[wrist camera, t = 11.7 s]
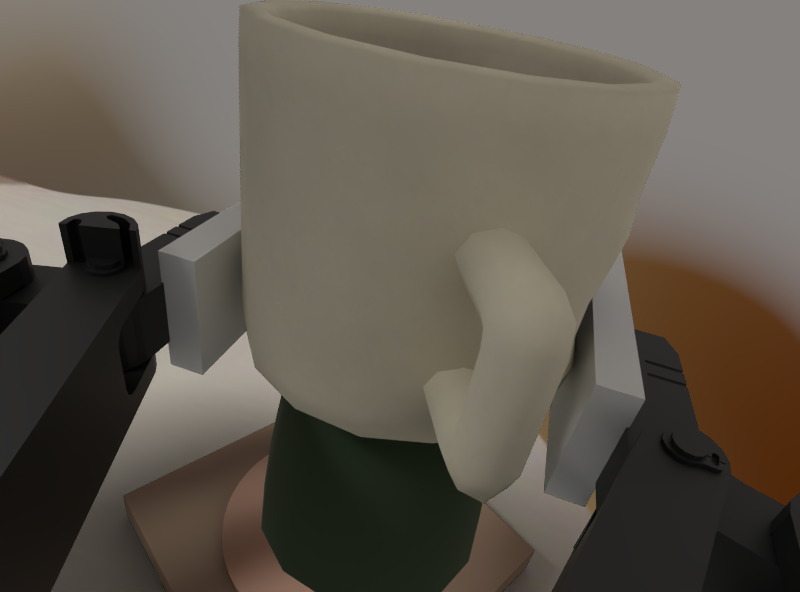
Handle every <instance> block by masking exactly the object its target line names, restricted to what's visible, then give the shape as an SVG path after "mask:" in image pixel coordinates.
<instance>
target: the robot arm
mask: <svg viewBox="0 0 800 592" xmlns="http://www.w3.org/2000/svg"><path fill="white" fill-rule="evenodd" d="M59 228H60V232H61V237H62V241H63V245H64V250H65V254H66V259H67V264H66V265H65V266H64V267H63V268H60V267H50V266H40V265H32V262H31V259H30V255H29V251H28V249H27V247H26V246H25V245H24V244H23V243H20V242H18V241H15V240H10V239H1V238H0V592H51V590H52V588H53V586H54V584H55V581H56V579H57V577H58V575H59V573H60V571H61V569H62V567H63V565H64V563H65V561H66V558H67V556H68V554H69V552H70V550H71V548H72V546H73V544H74V542H75V540H76V537H77V535H78V533H79V531H80V529H81V527H82V525H83V523H84V521H85V519H86V517H87V514H88V512H89V510H90V508H91V506H92V504H93V502H94V500H95V498H96V496H97V494H98V491H99V489H100V487H101V485H102V483H103V481H104V479H105V477H106V475H107V473H108V470H109V468H110V466H111V464H112V462H113V460H114V458H115V456H116V454H117V452H118V450H119V447H120V445H121V443H122V441H123V439H124V437H125V435H126V433H127V431H128V429H129V427H130V424H131V422H132V420H133V418H134V416H135V414H136V412H137V410H138V408H139V406H140V403H141V401H142V399H143V397H144V395H145V393H146V391H147V389H148V387H149V385H150V383H151V380H152V378H153V376H154V374H155V372H156V366H157V363H156V355H155V353H157V352H158V351H159V350H160V349H161V348H162V347H164V346H165V345H166V344H167V343H169V351H170V360H171V364H172V365H175V366H178V367H181V368H184V369H187V370H190V371H193V372H196V373H198V374H201V375H203V374H204V373H205V372H206V371H207V370H208V369H209V368H210V367H211V366H212V365H213V364H214V363H215V362H216V361H217V360H218V359H219V358H220V357H221V356H222V355H223V354H224V353H225V352H226V351H227V350H228V349H229V348H230V347H231V346H232V345H233V344H234V343H235V342H236V341H237V340H238V339H239V338H240V337H241V336H242V335H243V334H244V333H245V332H246V327H245V320H244V313H243V306H242V251H241V200H240V201H239V202H237V203H235V204H234V205H232V206H230V207H229V208H227V209H225V210H224V211H222V212H220V213H219V212H215V211H212V212H208V213H205V214H201V215H197V216H193V217H192V218H190V219H188V220H186V221H185V222H183V223H181V224H180V225H179V227H174V228H173V229H171V230H169V231H167V234H162V235H161V236H159V237H157V238H155V239H154V240H152V241H150V242H148V243H147V244H145V245H143V246H142V247H141V244H140V236H139V229H138V224H137V223H136V221H135V220H134V219H133V218H131V217H129V216H127V215H125V214H120V213H115V212H89V213H81V214H78V215H75V216H71V217H68V218H66V219H65V220H63V221H61V222H60V223H59ZM682 372H683V370H682V366H681V362H680V359H679V355H678V354H677V352H676V351H675V350H674V349H673V348H672V346H671V345H670V344H669V343H668V341H667V340H666V339H665V338H664V337H659V336H656V335H653V334H649V333H646V332H642V331H639V330H635V329H634V326H633V319H632V313H631V308H630V301H629V295H628V288H627V282H626V276H625V270H624V264H623V257H622V251H621V252H620V254H619V255H618V257H617V259H616V261H615V263H614V265H613V266H612V268H611V270H610V271H609V273H608V274H607V276H606V278H605V279H604V281H603V282H602V284H601V285H600V287H599V289H598V290H597V292H596V293H595V295H594V296H593V298H592V299H591V301H590V303H589V304H588V306H587V309H586V311H585V314H584V316H583V318H582V321H581V323H580V326H579V328H578V331H577V335H576V347H575V357H574V365H573V367H572V369H571V370H570V372H569V374H568V376H567V378H566V379H565V380H564V382H563V383H562V384H561V386H560V387H559V389H558V390H557V391H556V393H555V396H554V398H553V400H552V403H551V405H550V415H549V428H548V442H547V456H546V470H545V483H544V493H546V494H549V495H552V496H555V497H558V498H560V499H563V500H566V501H569V502H572V503H575V504H578V505H581V506H584V507H585V506H586V504H587V502H588V500H589V499H590V497H591V495H592V493H593V492H594V490H595V488H596V510H595V512H594V513H593V515H592V516H591V518H590V520H589V522H588V523H587V525H586V527H585V528H584V530H583V532H582V534H581V535H580V537H579V539H578V540H577V542H576V544H575V546H574V547H573V548H574V550H573V552H572V554H571V556H570V558H569V560H568V561H567V563H566V565H565V567H564V569H563V571H562V573H561V575H560V577H559V579H558V581H557V582H556V584H555V586H554V588H553V590H552V592H800V494H798V495H797V496H795V497H794V498H793V499H792V500H791V501H790V502H789V503H788V504H787V505H786V506H784V505H783V504H781V503H779V502H777V501H775V500H773V499H772V498H770V497H768V496H766V495H764V494H762V493H761V492H759V491H757V490H755V489H753V488H751V487H749V486H748V485H746V484H744V483H743V482H741V481H740V480H738V479H736V478H735V477H733V476H732V475H731V470H730V462H729V461H728V459H727V457H726V455H725V454H724V452H723V450H722V449H721V448H720V447H719V446H718V445H717V444H716V443H715V442H714V441H713V440H712V439H711V438H710V437H708V436H707V435H705V434H704V433H702V432H701V431H699V428H698V425H697V421H696V418H695V414H694V410H693V407H692V403H691V399H690V395H689V392H688V388H687V387H686V381H685V377H684V374H682Z"/></svg>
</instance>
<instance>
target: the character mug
mask: <svg viewBox="0 0 800 592" xmlns="http://www.w3.org/2000/svg"><path fill="white" fill-rule="evenodd" d="M238 47H239V113H240V175H241V177H240V180H241V181H240V182H241V251H242V306H243V313H244V320H245V327H246V331H247V335H248V340H249V344H250V348H251V352H252V357H253V361H254V365H255V368H256V369H257V370H258V371H259V372H260V373H261V374H262V375H263V376H264V377H265V378H266V379H267V380H268V381H269V382H270V383H271V384H272V386H273V387H274V388H275V389H276V390H277V391H278V392H279V393H280V394H281V400H280V404H279V408H278V413H277V417H276V421H275V425H274V430H273V434H272V438H271V444H270V450H269V457H268V464H267V470H266V477H265V483H264V496H263V510H262V524H261V529H262V531H263V533H264V535H265V537H266V539H267V541H268V543H269V545H270V547H271V549H272V551H273V553H274V554H275V556H276V558H277V560H278V562H279V564H280V566H281V568H282V570H283V571H284V572H285V573H287V574H288V575H290V576H291V577H293V578H294V579H296V580H297V581H299V582H300V583H302V584H304V585H305V586H307V587H308V588H310V589H311V590H313V591H314V592H442V591H443V590H444V589H445V588H446V586H447V585H448V584H449V583H450V582H451V581H452V580H453V579H454V577H455V576H456V575H457V574H458V573H459V572H460V571H461V570H462V568H463V567H464V566H465V565H466V564H467V563H468V562H469V558H470V554H471V550H472V546H473V542H474V537H475V533H476V529H477V525H478V521H479V517H480V512H481V508H482V503H485V502H486V501H488V500H489V499H491V498H493V497H494V496H496V495H497V494H499V493H500V492H502V491H504V490H505V489H507V488H508V487H509V486H510V485H511V484H512V483H513V482H514V481H516V480H517V479H518V478H519V477H520V475H521V473H522V471H523V468H524V466H525V464H526V461H527V459H528V457H529V454H530V452H531V450H532V447H533V445H534V443H535V440H536V438H537V436H538V433H539V431H540V429H541V426H542V424H543V422H544V419H545V417H546V414H547V412H548V410H549V407H550V405H551V403H552V400H553V398H554V396H555V393H556V391H557V390H558V389H559V387H560V386H561V384H562V383H563V382H564V380H565V379H566V378H567V376H568V374H569V372H570V370H571V369H572V367H573V365H574V357H575V347H576V335H577V331H578V328H579V326H580V323H581V321H582V318H583V316H584V314H585V311H586V309H587V306H588V304H589V303H590V301H591V299H592V298H593V296H594V295H595V293H596V292H597V290H598V289H599V287H600V285H601V284H602V282H603V281H604V279H605V278H606V276H607V274H608V273H609V271H610V270H611V268H612V266H613V265H614V263H615V261H616V259H617V257H618V255H619V254H620V252H621V250H622V248H623V246H624V244H625V242H626V241H627V238H628V237H629V235H630V233H631V229H632V225H633V221H634V217H635V213H636V210H637V207H638V203H639V200H640V196H641V193H642V191H643V189H644V186H645V184H646V181H647V179H648V177H649V174H650V172H651V170H652V167H653V165H654V162H655V160H656V158H657V155H658V152H659V151H660V148H661V146H662V143H663V141H664V139H665V136H666V134H667V131H668V127H669V124H670V121H671V117H672V114H673V111H674V107H675V103H676V101H677V97H678V94H679V90H680V87H681V84H680V83H679V82H677V81H675V80H673V79H672V78H670V77H668V76H666V75H664V74H662V73H660V72H658V71H655V70H653V69H651V68H649V67H646V66H644V65H642V64H639V63H636V62H633V61H630V60H626V59H623V58H620V57H617V56H613V55H609V54H606V53H602V52H598V51H595V50H591V49H588V48H584V47H579V46H575V45H571V44H566V43H562V42H558V41H553V40H549V39H545V38H540V37H536V36H531V35H526V34H520V33H515V32H511V31H505V30H501V29H495V28H490V27H485V26H480V25H475V24H470V23H464V22H460V21H455V20H450V19H445V18H440V17H435V16H429V15H424V14H417V13H411V12H403V11H397V10H390V9H383V8H376V7H369V6H359V5H350V4H340V3H330V2H321V1H294V0H270V1H260V2H256V3H250V4H245V5H240V10H239V42H238Z"/></svg>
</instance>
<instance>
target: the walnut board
mask: <svg viewBox="0 0 800 592" xmlns="http://www.w3.org/2000/svg"><path fill="white" fill-rule="evenodd" d="M274 425H275V423H273V424H270V425H268V426H266V427H264V428H262V429H260V430H258V431H256V432H254V433H252V434H250V435H248V436H246V437H244V438H242V439H240V440H237V441H235V442H233V443H231V444H229V445H227V446H225V447H223V448H221V449H219V450H217V451H215V452H213V453H211V454H209V455H207V456H204V457H202V458H200V459H198V460H196V461H194V462H192V463H190V464H188V465H186V466H184V467H182V468H180V469H178V470H176V471H174V472H171V473H169V474H167V475H165V476H163V477H161V478H159V479H157V480H155V481H153V482H151V483H149V484H147V485H145V486H143V487H141V488H138V489H136V490H134V491H132V492H130V493H128V494H126V495H124V496H123V497H124V502H125V506H126V511H127V515H128V517H129V519H130V521H131V523H132V525H133V527H134V529H135V531H136V533H137V535H138V537H139V539H140V541H141V543H142V545H143V547H144V549H145V551H146V552H147V554H148V556H149V558H150V560H151V562H152V564H153V566H154V568H155V570H156V572H157V574H158V576H159V578H160V580H161V582H162V584H163V586H164V588H165V590H166V592H314V591H313V590H311V589H310V588H308V587H307V586H305V585H304V584H302V583H300V582H299V581H297V580H296V579H294V578H293V577H291V576H290V575H288V574H287V573H285V572H284V571H283V570H282V568H281V566H280V564H279V562H278V560H277V558H276V556H275V554H274V553H273V551H272V549H271V547H270V545H269V543H268V541H267V539H266V537H265V535H264V533H263V531H262V529H261V524H262V510H263V496H264V483H265V477H266V470H267V464H268V457H269V450H270V444H271V438H272V434H273V430H274ZM534 551H535V550H534V549H533V548H532V547H531V546H530V545H529V544H528V543H526V542H525V541H524V540H523V539H522V538H521V537H520V536H519V535H518V534H517V533H516V532H515V531H514V530H513V529H512V528H510V527H509V526H508V525H507V524H506V523H505V522H504V521H503V520H502V519H501V518H500V517H499V516H498V515H497V514H496V513H495V512H493V511H492V510H491V509H490V508H489V507H488V506H487V505H486V504H485V503H482V508H481V512H480V517H479V521H478V525H477V529H476V533H475V537H474V542H473V546H472V550H471V554H470V558H469V562H468V563H467V564H466V565H465V566H464V567H463V568H462V570H461V571H460V572H459V573H458V574H457V575H456V576H455V577H454V579H453V580H452V581H451V582H450V583H449V584H448V585H447V586H446V588H445V589H444V590H443V591H442V592H503V591H504V590H505V589H506V588H507V586H508V585H509V584H510V583H511V582H512V581H513V580H514V579H515V578H516V577H517V576H518V575H519V574H520V573H521V572H522V571H523V570H524V569H525V568H526V566H527V564H528V562H529V560H530V558H531V557H532V555H533V553H534Z"/></svg>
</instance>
